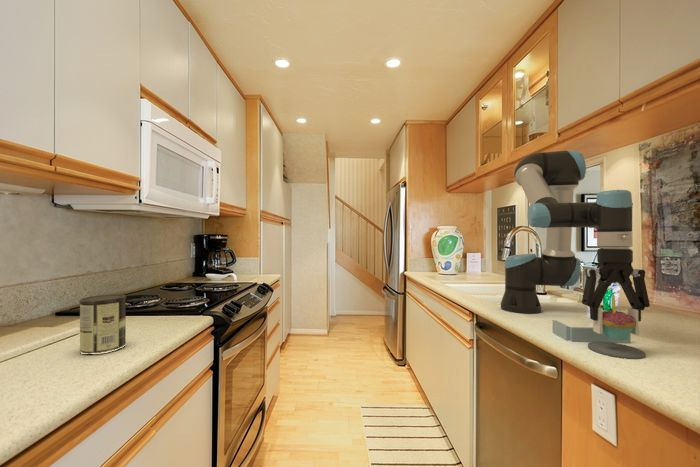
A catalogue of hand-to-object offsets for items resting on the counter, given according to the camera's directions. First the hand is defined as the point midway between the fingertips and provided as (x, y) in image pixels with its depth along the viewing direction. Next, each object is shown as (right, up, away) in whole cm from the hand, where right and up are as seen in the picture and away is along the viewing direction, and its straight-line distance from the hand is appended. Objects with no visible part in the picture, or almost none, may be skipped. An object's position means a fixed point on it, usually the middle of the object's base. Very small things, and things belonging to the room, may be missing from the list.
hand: (615, 332), depth 90 cm
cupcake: (0, -1, 0) cm, 1 cm away
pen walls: (+2, -5, +12) cm, 13 cm away
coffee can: (-138, -5, +2) cm, 139 cm away
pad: (0, -5, 0) cm, 5 cm away
